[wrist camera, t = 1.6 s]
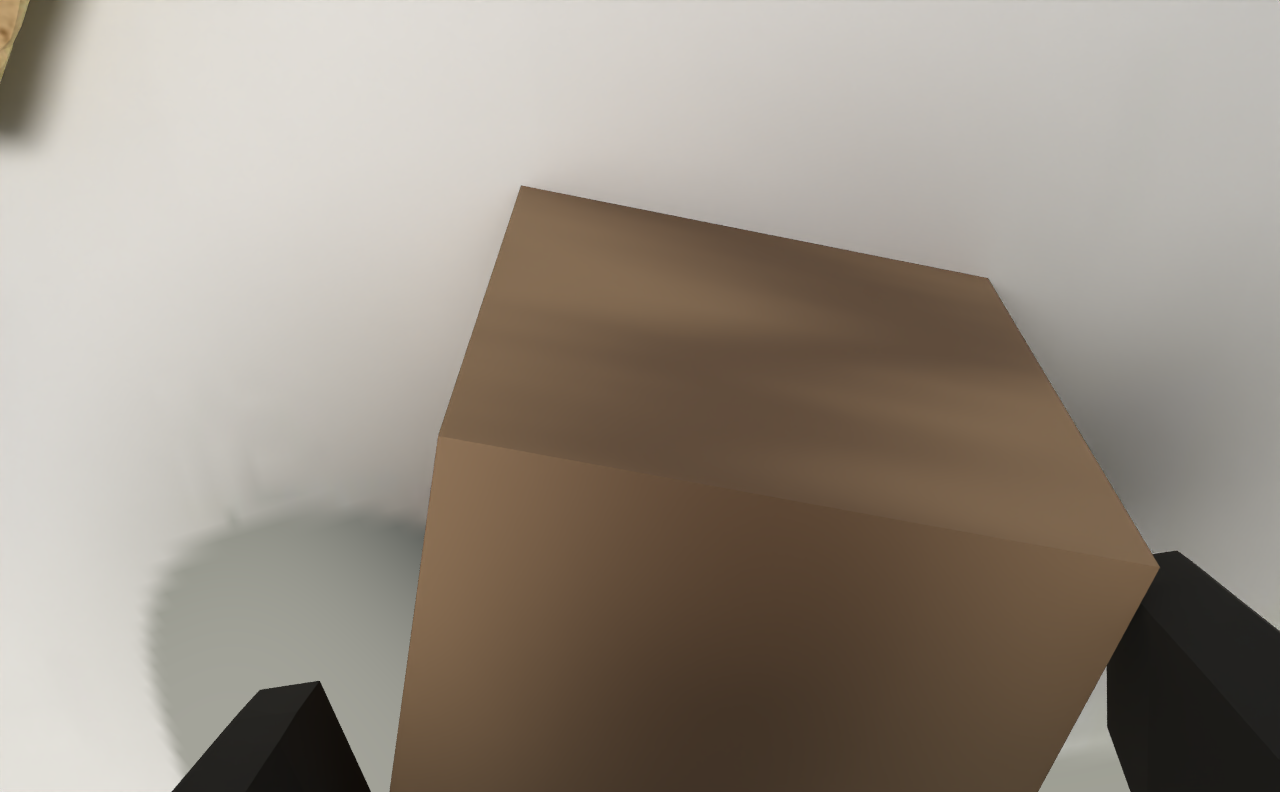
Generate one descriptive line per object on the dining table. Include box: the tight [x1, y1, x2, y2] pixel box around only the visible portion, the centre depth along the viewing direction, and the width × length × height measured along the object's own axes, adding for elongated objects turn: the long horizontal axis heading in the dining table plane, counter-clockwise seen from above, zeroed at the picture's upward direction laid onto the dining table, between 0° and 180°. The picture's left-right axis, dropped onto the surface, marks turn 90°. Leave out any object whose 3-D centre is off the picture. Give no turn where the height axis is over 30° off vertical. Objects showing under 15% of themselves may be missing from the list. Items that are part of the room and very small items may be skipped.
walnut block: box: [390, 186, 1160, 792], centre depth 13 cm, size 6×6×6 cm
